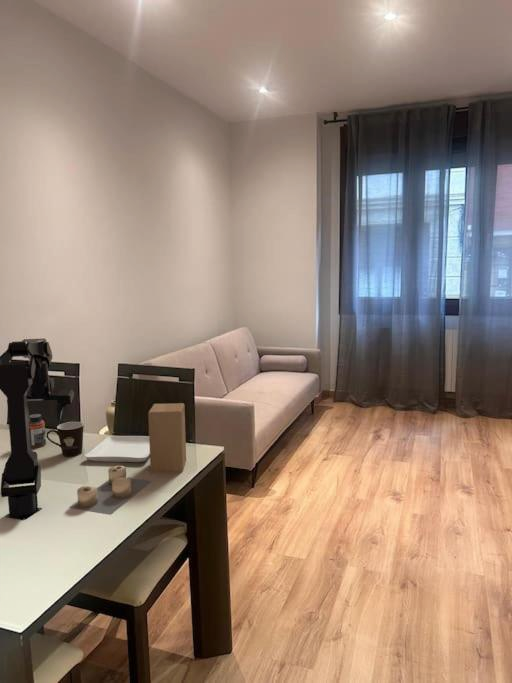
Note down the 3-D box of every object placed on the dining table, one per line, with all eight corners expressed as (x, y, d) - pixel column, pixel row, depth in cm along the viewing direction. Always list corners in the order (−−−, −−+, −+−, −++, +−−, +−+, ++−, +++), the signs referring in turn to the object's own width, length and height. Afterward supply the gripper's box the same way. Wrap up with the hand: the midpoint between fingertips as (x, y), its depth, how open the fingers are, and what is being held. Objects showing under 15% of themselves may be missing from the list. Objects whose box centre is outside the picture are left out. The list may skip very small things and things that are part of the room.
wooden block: (186, 461, 160) (184, 402, 157) (182, 474, 150) (180, 411, 147) (156, 462, 160) (153, 403, 157) (150, 474, 150) (147, 412, 147)
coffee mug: (90, 450, 172) (88, 422, 170) (75, 459, 163) (73, 430, 162) (62, 447, 175) (60, 420, 173) (46, 455, 166) (43, 427, 165)
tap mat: (111, 516, 124) (110, 514, 124) (68, 509, 128) (68, 507, 128) (152, 482, 144) (152, 481, 144) (114, 477, 148) (114, 475, 148)
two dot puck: (120, 486, 140) (119, 472, 140) (105, 484, 142) (104, 470, 141) (129, 479, 145) (129, 466, 145) (115, 477, 147) (114, 464, 146)
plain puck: (124, 500, 132) (124, 486, 131) (109, 497, 134) (108, 483, 133) (134, 492, 137) (134, 478, 136) (119, 489, 138) (118, 476, 138)
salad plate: (109, 443, 179) (108, 434, 179) (165, 444, 177) (164, 435, 177) (83, 466, 158) (82, 455, 158) (146, 467, 156) (146, 457, 156)
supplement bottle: (28, 444, 178) (25, 414, 176) (45, 441, 181) (43, 412, 179) (28, 449, 173) (25, 418, 171) (46, 446, 175) (44, 416, 174)
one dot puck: (90, 509, 127) (89, 493, 127) (74, 506, 129) (73, 491, 128) (101, 500, 132) (100, 485, 131) (86, 498, 133) (85, 483, 133)
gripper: (75, 366, 160) (79, 408, 165) (14, 367, 157) (20, 410, 162) (68, 380, 149) (72, 425, 155) (3, 382, 146) (10, 427, 152)
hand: (44, 421), depth 156 cm, fingers open, 9 cm apart
